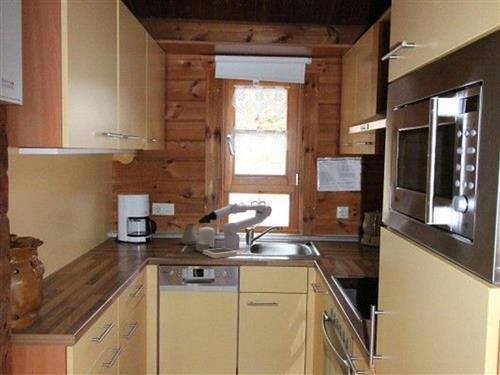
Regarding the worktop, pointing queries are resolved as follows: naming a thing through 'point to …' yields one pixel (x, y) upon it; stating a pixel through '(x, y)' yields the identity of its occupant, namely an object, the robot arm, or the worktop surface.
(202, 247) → the housing
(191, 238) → the coffee pot
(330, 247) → the worktop surface
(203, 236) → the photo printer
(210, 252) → the stand
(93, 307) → the worktop surface
